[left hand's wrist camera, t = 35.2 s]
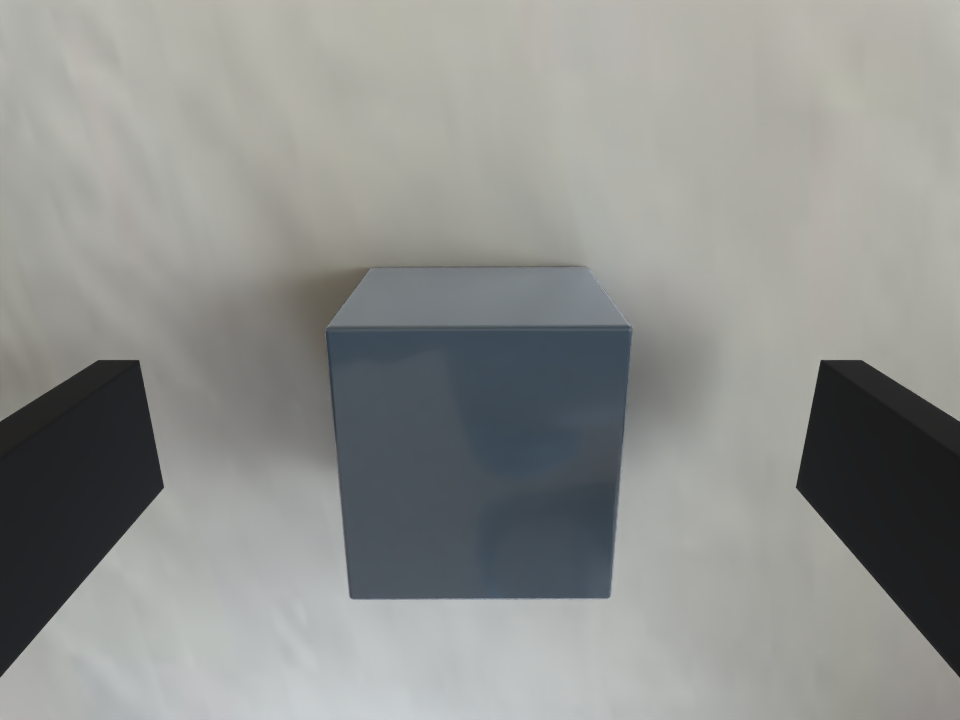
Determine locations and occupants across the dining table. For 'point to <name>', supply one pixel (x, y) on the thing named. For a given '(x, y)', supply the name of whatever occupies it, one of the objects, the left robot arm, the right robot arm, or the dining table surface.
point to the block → (479, 432)
